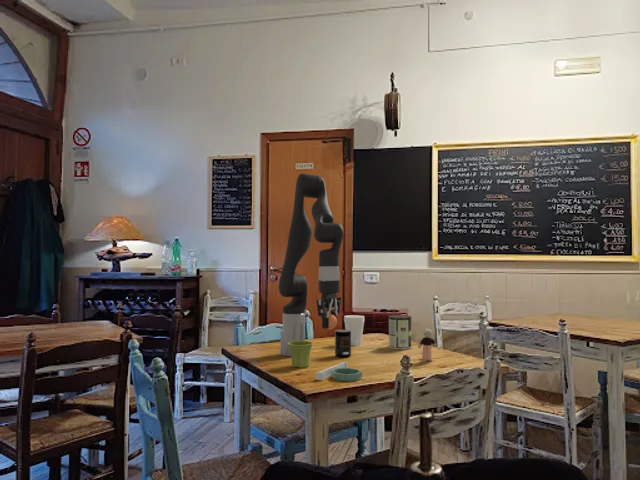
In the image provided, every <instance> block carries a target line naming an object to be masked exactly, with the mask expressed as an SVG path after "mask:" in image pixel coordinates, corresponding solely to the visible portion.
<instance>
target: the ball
mask: <svg viewBox="0 0 640 480" xmlns="http://www.w3.org/2000/svg"><path fill="white" fill-rule="evenodd" d="M328 318H329V328H328V329H327V330H333V329H335V328H336V327H337V326H336V325H337V324H338V319H336V317H335V316H334V315H332V314H330V313H329V316H328ZM335 326H336V327H335Z"/></svg>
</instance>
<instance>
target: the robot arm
mask: <svg viewBox="0 0 640 480" xmlns="http://www.w3.org/2000/svg"><path fill="white" fill-rule="evenodd" d="M305 198H312V199H316V200H315V202H314V203H313V204H312V207H311V215H312V217H313V218H312V219H313V221H314V230H313V227H312V224H311V223H310V220H309V218H308V214H307V213H306V210H305V200H304V199H305ZM292 209H293V211H292V217H291V221H290V226H289V227H290V228H289V232H288V233H289V234H288V239H287V246H286V252H285V257H284V262H283V266H282V268H281V272H280V277H279V280H278V291H279V293H280V295H281V297H285V298H291V300H290V302H288V303H286V304H285V305H284V306H283V307H282V330H281V331H280V348H279V349H280V351H279V352H280V355H281V356H285V357H291V352H290V348H289V345H288V343H289V342H293V341H306V335H305V334H306V331H305V330H306V329H305V325H306V307H307V302H308V301H307V299H308V281H307V279H306V277H305V275H302V274H295V273H296V271H297V266H298V264H299V263H300V262H301V260H302V258H303V257H304V256H305V255H306V253H307V251H309V248H310V246H311V240H312V235H313V237H314V239H315V241H316V242H318V243H321V244H324V243H325V244H331V243H332V244H331V246H330V247H329V248H325V249H322V250H320V251H319V253H318V260H319V261H318V265H319V267H318V292H319V293H320V294H321V298H317V299H316V307H317V315H318V317H320V318H321V328H322V329H325V330H329V329H328V328H329V318H328V316H329V314H332V315H334V316H335V317H336V319H337V316H338V315H339V314H340V313H341V304H342V297H341V296H338V295H337V294H339V293H340V292H341V291H340V290H341V278H340V277H341V275H340V274H341V273H340V252H341V250H340V249H341V245H342V242H343V239H344V235H345V233H344V231H345V230H344V227H343V226H342V224H340V223H338V222H334V216H333V213H332V211H331V208H330V206H329V199H328V193H327V187H326V181H325V179H324V178H323V177H322V176H320V175H315V174H309V173H300V174H299V175H298V176H297V178H296V183H295V192H294V201H293V208H292ZM313 232H314V233H313ZM337 320H338V319H337ZM336 327H337V325H336V326H335V327H334V328H336Z"/></svg>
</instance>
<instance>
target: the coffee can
mask: <svg viewBox="0 0 640 480" xmlns="http://www.w3.org/2000/svg"><path fill="white" fill-rule="evenodd" d="M388 348H389V349H392V350H409V349H413V347H412V316H411V315H404V314H391V315H388Z"/></svg>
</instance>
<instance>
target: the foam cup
mask: <svg viewBox="0 0 640 480" xmlns="http://www.w3.org/2000/svg"><path fill="white" fill-rule="evenodd" d="M343 322H344V330H351V347H353V346H355V347H356V346H357V347H359V346H362V339H363V332H364V325H365V315H360V314H359V315H357V314H354V315H352V314H350V315H344V317H343Z"/></svg>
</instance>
